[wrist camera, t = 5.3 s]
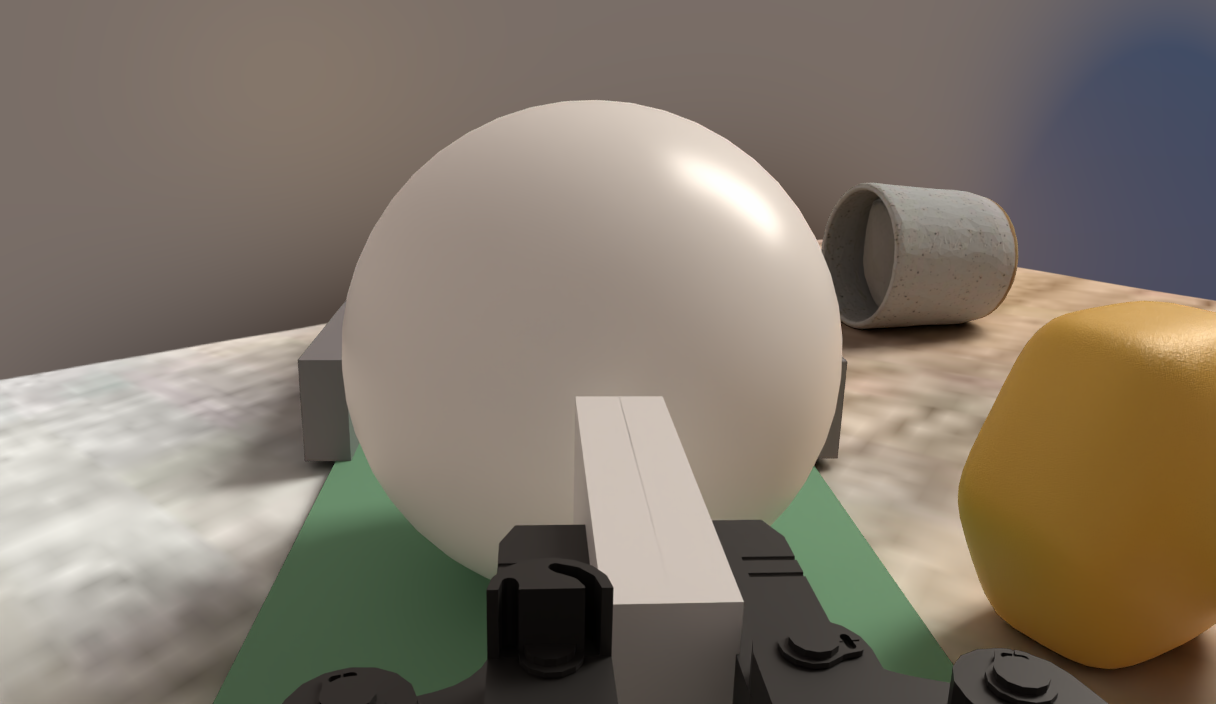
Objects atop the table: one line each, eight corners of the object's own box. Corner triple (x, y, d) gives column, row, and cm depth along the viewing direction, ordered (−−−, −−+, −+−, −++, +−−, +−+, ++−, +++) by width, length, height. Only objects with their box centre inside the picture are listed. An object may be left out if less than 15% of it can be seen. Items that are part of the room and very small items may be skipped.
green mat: (717, 333, 49) (717, 327, 49) (1012, 766, 19) (1015, 753, 19) (404, 331, 48) (404, 325, 48) (176, 792, 18) (174, 779, 17)
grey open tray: (739, 331, 49) (744, 263, 48) (837, 458, 33) (847, 361, 32) (381, 329, 47) (378, 259, 46) (305, 461, 32) (297, 360, 31)
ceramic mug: (1019, 335, 50) (1040, 189, 48) (885, 345, 48) (901, 191, 46) (902, 294, 60) (915, 171, 58) (786, 300, 58) (795, 171, 56)
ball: (760, 474, 31) (788, 97, 28) (888, 706, 20) (964, 119, 17) (391, 476, 31) (375, 88, 27) (304, 722, 19) (256, 103, 16)
